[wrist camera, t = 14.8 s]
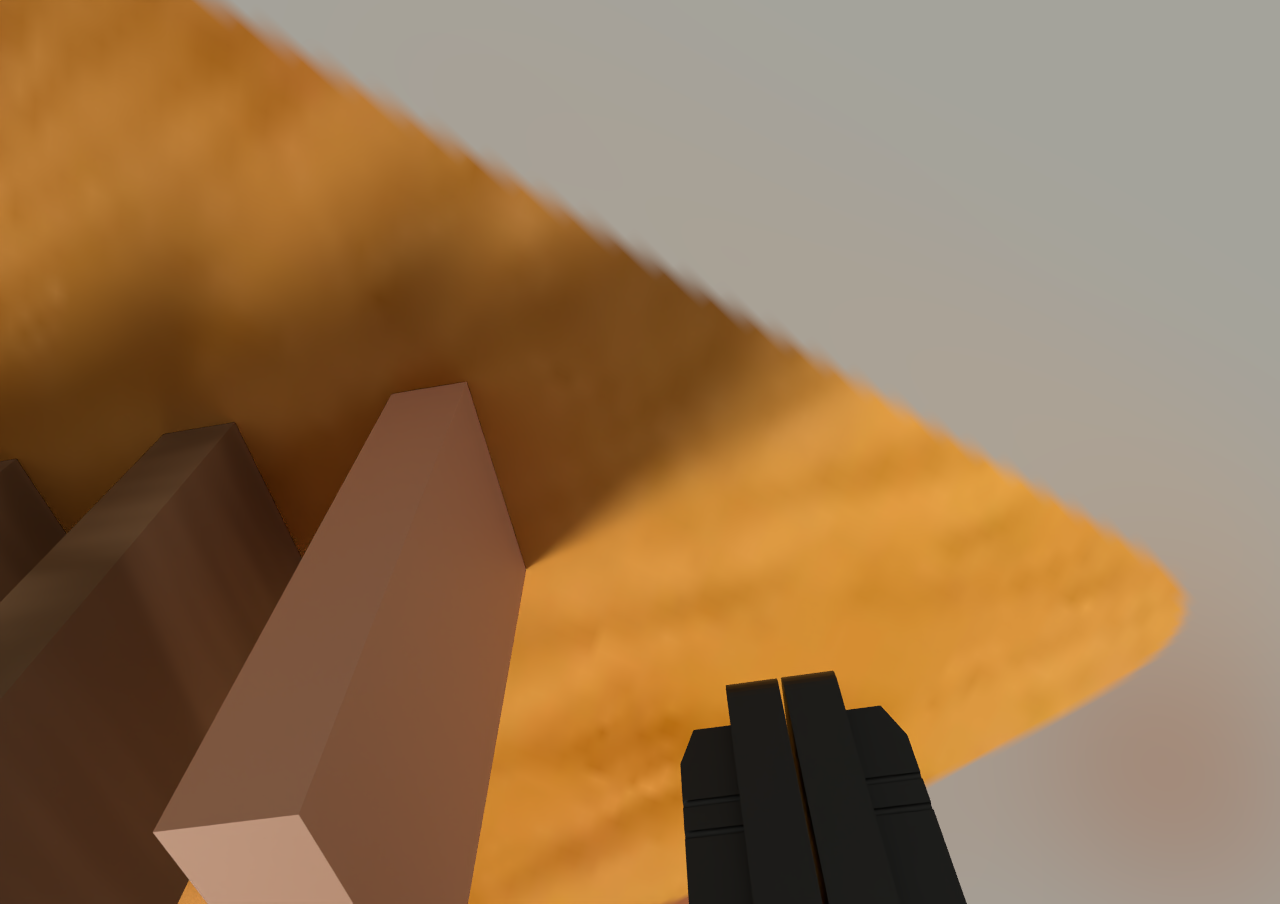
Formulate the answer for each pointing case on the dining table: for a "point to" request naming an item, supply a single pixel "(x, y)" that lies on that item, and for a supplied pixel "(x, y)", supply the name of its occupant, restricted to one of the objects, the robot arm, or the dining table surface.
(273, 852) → the domino end
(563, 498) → the dining table surface
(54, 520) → the domino
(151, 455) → the domino
